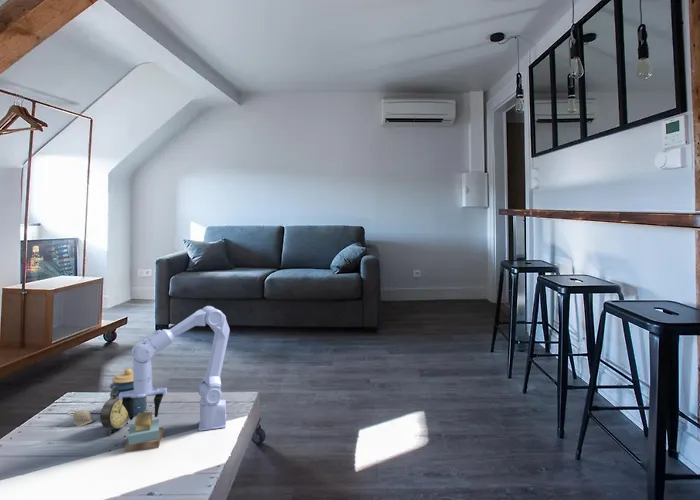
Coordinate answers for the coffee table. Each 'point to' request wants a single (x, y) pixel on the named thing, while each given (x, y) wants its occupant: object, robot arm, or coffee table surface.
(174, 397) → the coffee table surface
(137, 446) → the tower base
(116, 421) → the alarm clock
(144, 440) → the tower top
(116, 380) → the canister
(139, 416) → the ochre cube
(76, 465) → the coffee table surface
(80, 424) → the decorative ornament
